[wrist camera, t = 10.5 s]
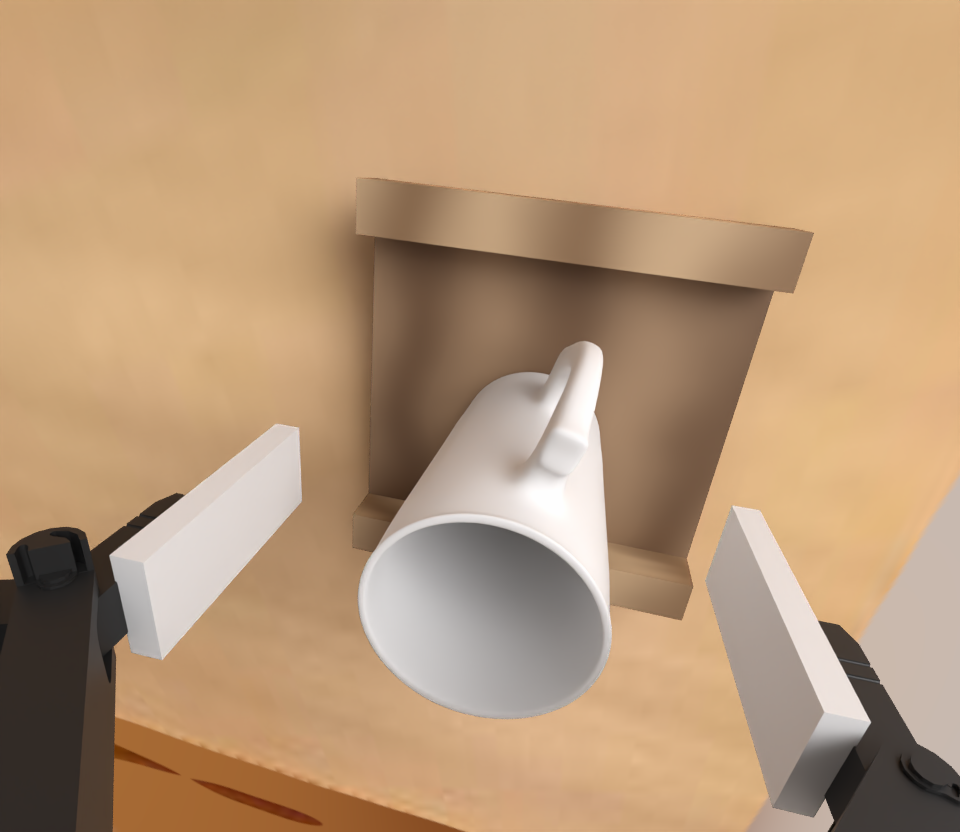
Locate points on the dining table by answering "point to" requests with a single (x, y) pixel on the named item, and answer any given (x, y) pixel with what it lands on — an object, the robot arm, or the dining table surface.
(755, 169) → the dining table surface
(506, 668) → the mug
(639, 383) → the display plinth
